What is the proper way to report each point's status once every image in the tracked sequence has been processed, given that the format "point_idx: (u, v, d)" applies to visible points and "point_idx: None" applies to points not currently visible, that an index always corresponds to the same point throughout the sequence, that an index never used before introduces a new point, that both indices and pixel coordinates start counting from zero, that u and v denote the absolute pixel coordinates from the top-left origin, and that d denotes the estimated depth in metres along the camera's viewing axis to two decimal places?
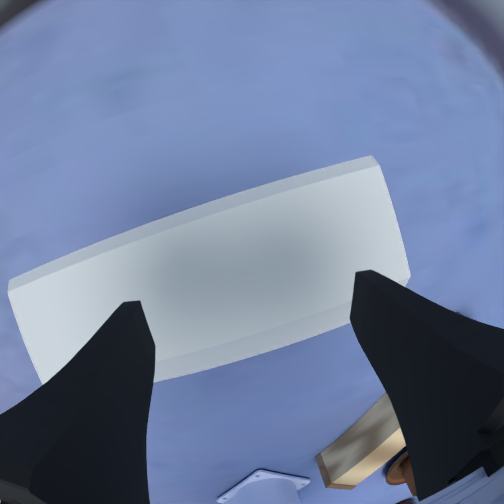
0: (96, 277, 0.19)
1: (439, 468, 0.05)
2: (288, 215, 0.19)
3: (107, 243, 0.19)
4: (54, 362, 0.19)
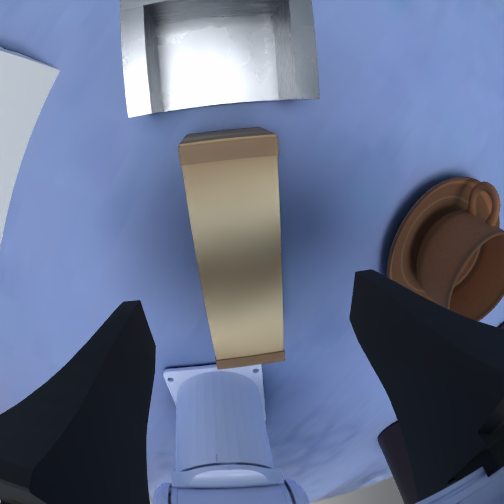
0: None
1: (439, 468, 0.05)
2: None
3: None
4: None
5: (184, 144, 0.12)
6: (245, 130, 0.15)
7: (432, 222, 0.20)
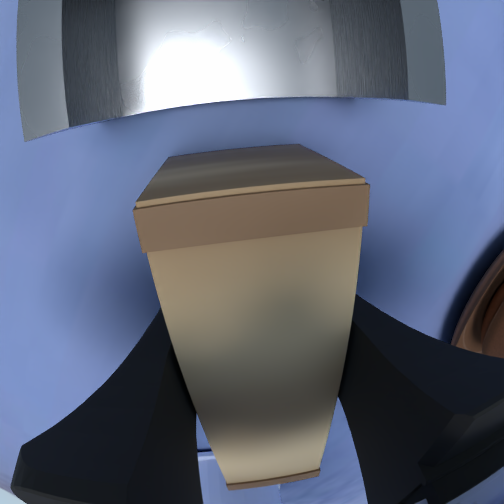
0: None
1: (386, 492, 0.05)
2: None
3: None
4: None
5: (147, 202, 0.05)
6: (279, 153, 0.08)
7: None
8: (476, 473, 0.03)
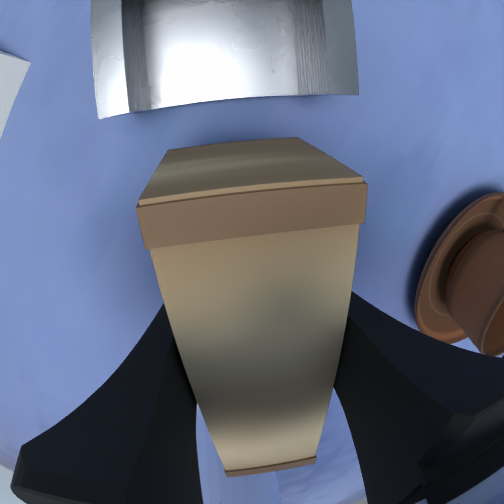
0: None
1: (386, 492, 0.05)
2: None
3: None
4: None
5: (150, 200, 0.05)
6: (278, 148, 0.08)
7: (464, 242, 0.17)
8: (476, 473, 0.03)
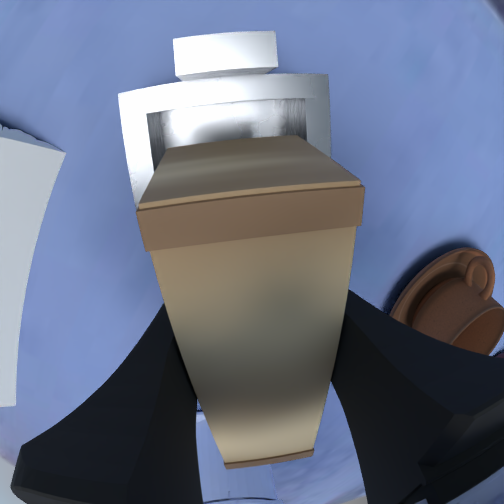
0: None
1: (386, 492, 0.05)
2: None
3: None
4: None
5: (150, 203, 0.05)
6: (277, 147, 0.08)
7: (429, 287, 0.22)
8: (476, 473, 0.03)
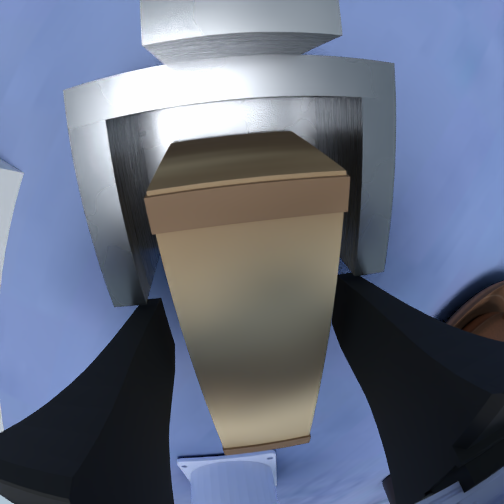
0: None
1: (416, 479, 0.05)
2: None
3: None
4: None
5: (156, 191, 0.06)
6: (273, 142, 0.08)
7: (464, 323, 0.17)
8: (503, 454, 0.03)
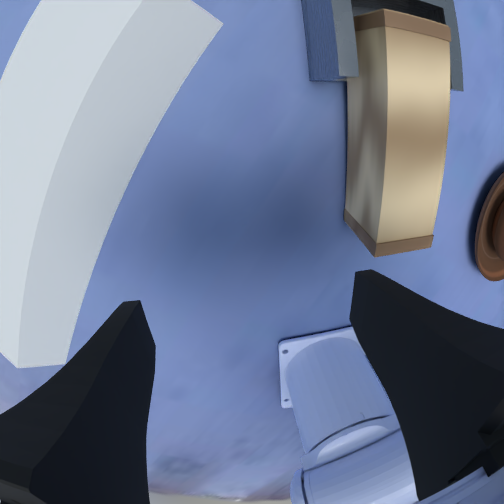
0: None
1: (439, 468, 0.05)
2: (18, 66, 0.11)
3: None
4: (5, 339, 0.18)
5: (387, 10, 0.09)
6: None
7: (502, 199, 0.21)
8: None
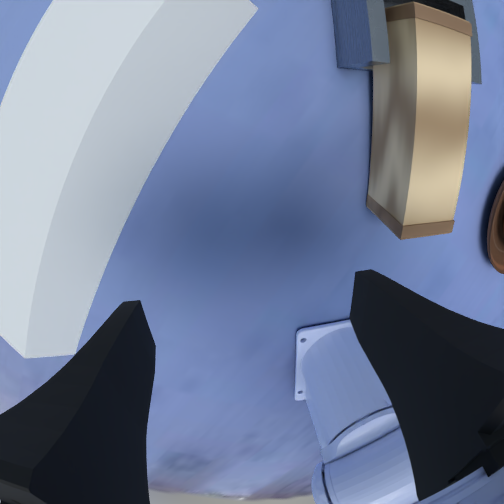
0: None
1: (439, 468, 0.05)
2: (45, 38, 0.11)
3: None
4: (12, 327, 0.18)
5: (416, 3, 0.09)
6: None
7: None
8: None
